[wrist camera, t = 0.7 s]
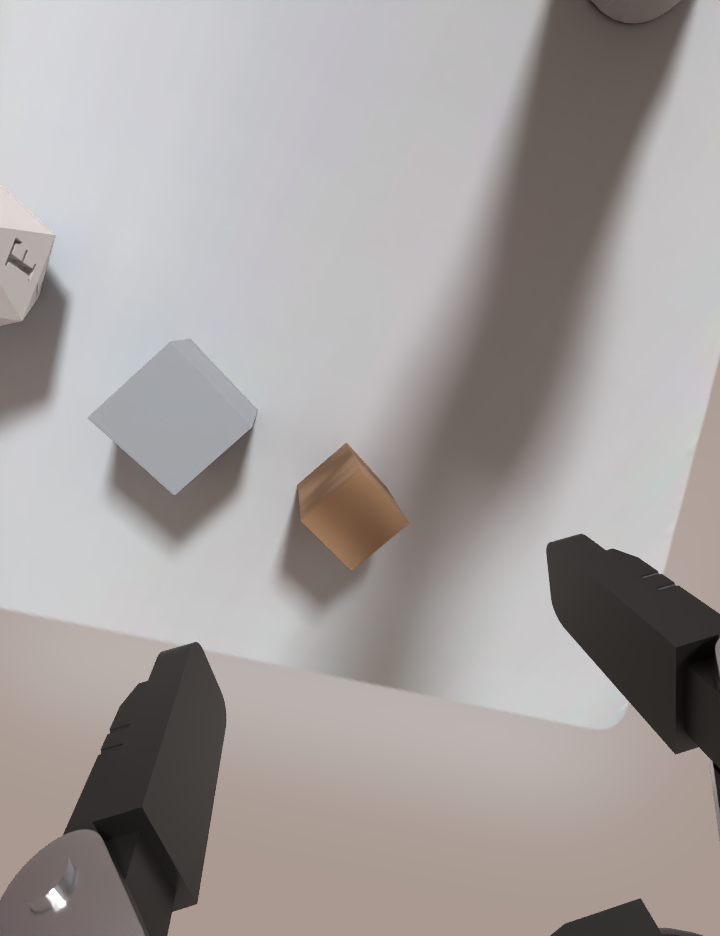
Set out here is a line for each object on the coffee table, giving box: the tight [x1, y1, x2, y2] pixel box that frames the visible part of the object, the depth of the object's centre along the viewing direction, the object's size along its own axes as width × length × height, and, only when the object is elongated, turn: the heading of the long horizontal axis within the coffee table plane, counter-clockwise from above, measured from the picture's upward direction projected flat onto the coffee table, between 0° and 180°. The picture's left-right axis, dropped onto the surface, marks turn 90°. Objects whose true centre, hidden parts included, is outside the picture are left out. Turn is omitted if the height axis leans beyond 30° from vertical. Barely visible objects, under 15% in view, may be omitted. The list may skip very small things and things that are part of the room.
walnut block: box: [298, 443, 409, 571], centre depth 33 cm, size 5×5×7 cm
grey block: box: [88, 339, 257, 496], centre depth 30 cm, size 6×6×6 cm
